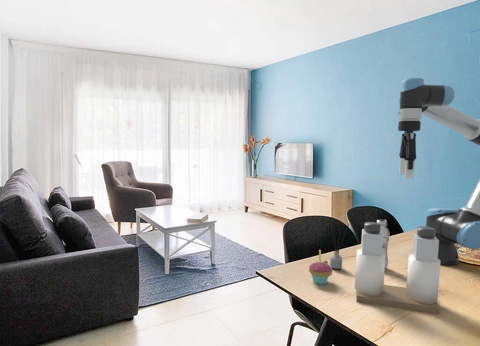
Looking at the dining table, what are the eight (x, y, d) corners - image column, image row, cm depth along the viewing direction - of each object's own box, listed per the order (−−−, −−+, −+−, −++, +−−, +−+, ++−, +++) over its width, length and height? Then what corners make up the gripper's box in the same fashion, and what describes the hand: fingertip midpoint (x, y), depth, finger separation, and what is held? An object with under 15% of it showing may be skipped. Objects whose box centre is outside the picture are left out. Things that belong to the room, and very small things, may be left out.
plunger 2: (431, 255, 109) (433, 227, 108) (435, 260, 105) (437, 231, 104) (414, 253, 111) (416, 225, 110) (417, 258, 106) (419, 229, 105)
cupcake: (305, 277, 128) (306, 246, 127) (327, 276, 129) (328, 246, 128) (312, 286, 120) (313, 254, 119) (335, 286, 120) (337, 254, 119)
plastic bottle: (389, 272, 134) (392, 223, 132) (371, 270, 136) (374, 221, 134) (386, 266, 141) (389, 219, 139) (369, 264, 142) (371, 218, 140)
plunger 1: (378, 249, 114) (380, 222, 113) (379, 254, 109) (381, 226, 108) (362, 248, 115) (364, 221, 115) (363, 252, 111) (365, 224, 110)
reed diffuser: (348, 268, 137) (351, 220, 135) (343, 274, 131) (346, 224, 129) (324, 263, 143) (326, 217, 141) (318, 268, 137) (320, 220, 135)
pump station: (431, 296, 114) (436, 233, 111) (441, 314, 102) (447, 244, 100) (353, 286, 121) (357, 226, 119) (354, 301, 110) (358, 235, 107)
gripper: (394, 122, 140) (390, 172, 142) (404, 118, 116) (400, 179, 118) (414, 122, 138) (410, 173, 140) (428, 118, 114) (423, 180, 116)
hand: (405, 176), depth 129 cm, fingers open, 13 cm apart
